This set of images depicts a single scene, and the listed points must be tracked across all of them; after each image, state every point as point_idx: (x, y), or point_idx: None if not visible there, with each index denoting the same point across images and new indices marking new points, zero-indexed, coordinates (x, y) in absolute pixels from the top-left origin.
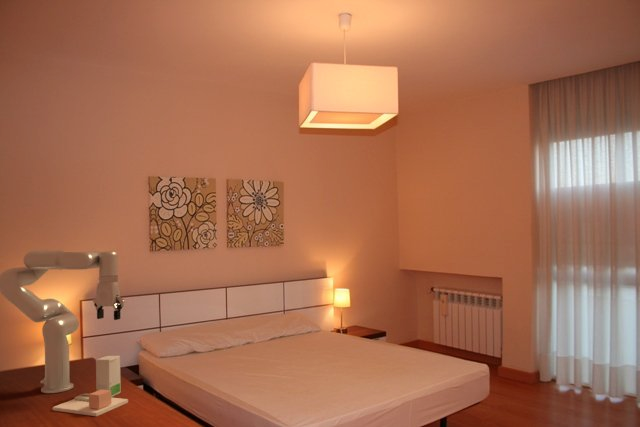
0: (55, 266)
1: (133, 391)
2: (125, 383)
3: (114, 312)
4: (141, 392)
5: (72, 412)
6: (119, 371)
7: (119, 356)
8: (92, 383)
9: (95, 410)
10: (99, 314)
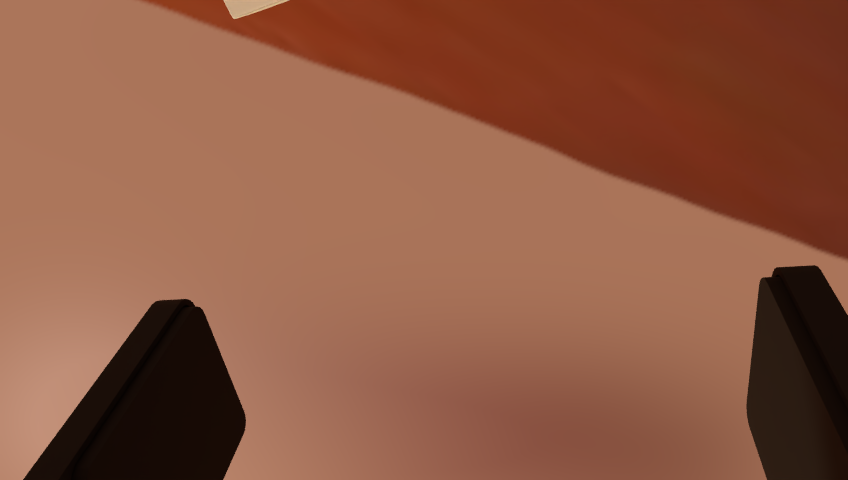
0: None
1: None
2: (508, 120)
3: (63, 436)
4: (199, 15)
5: None
6: None
7: (226, 4)
8: (790, 8)
9: None
10: (793, 386)
